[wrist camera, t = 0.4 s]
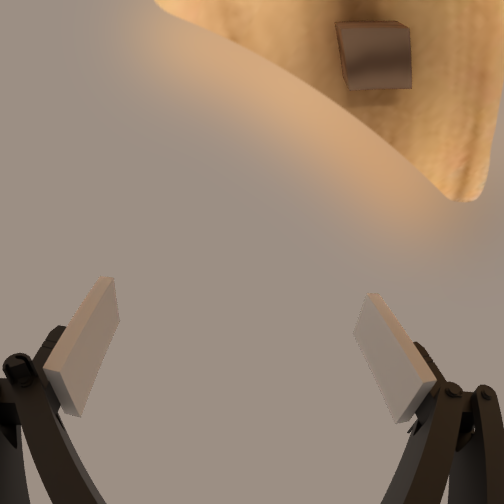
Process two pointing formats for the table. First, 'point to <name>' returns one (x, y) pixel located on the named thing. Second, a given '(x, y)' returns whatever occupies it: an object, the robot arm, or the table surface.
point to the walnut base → (375, 54)
